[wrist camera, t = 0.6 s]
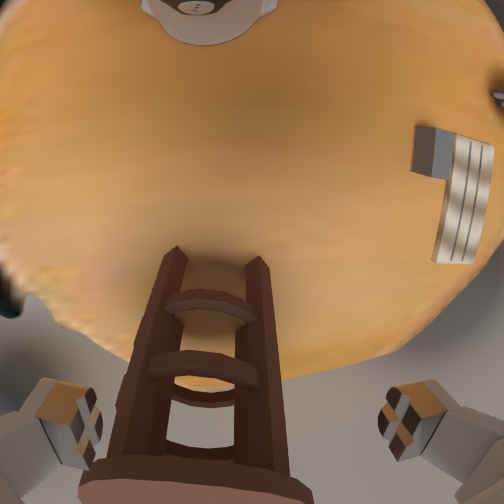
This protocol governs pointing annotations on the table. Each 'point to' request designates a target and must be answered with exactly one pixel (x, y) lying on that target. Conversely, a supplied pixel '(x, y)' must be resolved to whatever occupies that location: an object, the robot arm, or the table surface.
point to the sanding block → (432, 152)
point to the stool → (164, 389)
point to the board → (464, 202)
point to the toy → (499, 97)
